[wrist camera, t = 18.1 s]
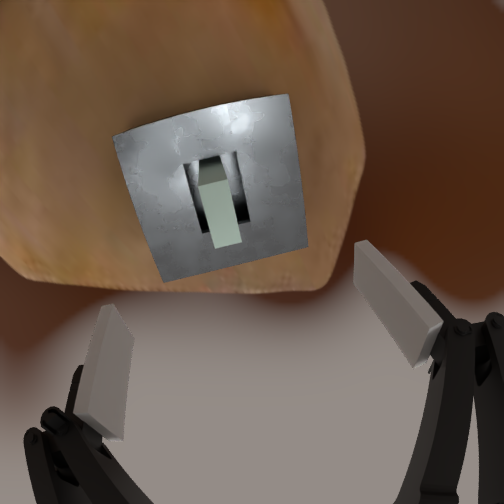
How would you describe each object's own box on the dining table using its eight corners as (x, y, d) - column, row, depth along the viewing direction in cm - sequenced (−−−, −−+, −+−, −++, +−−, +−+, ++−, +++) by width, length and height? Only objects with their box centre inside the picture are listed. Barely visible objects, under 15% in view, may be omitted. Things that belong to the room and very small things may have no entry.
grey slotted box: (168, 253, 39) (163, 282, 33) (128, 130, 30) (112, 136, 24) (291, 223, 40) (308, 246, 34) (271, 95, 31) (288, 93, 25)
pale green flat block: (210, 203, 36) (214, 248, 26) (199, 158, 33) (197, 186, 23) (229, 198, 36) (241, 242, 26) (219, 154, 33) (227, 179, 23)
